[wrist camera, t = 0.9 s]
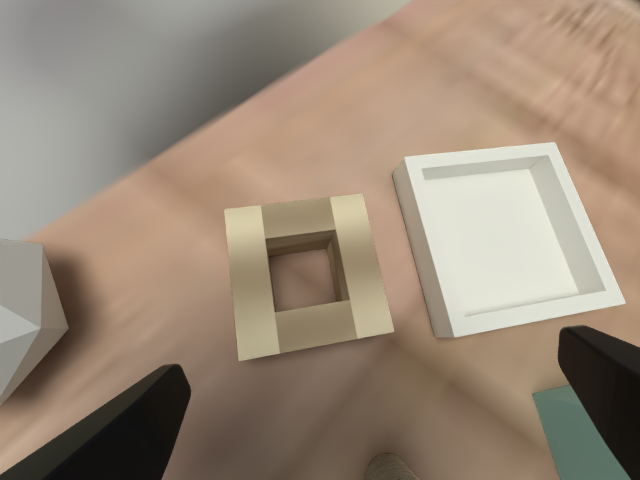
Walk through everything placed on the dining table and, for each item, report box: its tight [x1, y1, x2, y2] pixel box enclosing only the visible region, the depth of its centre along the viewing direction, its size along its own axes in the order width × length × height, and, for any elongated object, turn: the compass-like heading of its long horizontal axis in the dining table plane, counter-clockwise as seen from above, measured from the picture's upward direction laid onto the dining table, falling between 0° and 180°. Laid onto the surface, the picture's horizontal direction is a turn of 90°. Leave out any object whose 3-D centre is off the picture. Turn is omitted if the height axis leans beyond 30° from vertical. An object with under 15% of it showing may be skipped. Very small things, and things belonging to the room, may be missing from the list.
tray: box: [392, 142, 626, 338], centre depth 22 cm, size 12×12×2 cm
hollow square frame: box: [224, 193, 394, 361], centre depth 19 cm, size 8×8×4 cm
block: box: [532, 385, 631, 480], centre depth 17 cm, size 5×5×5 cm
